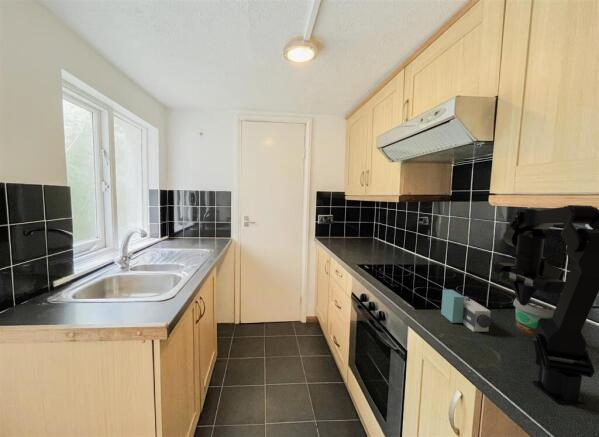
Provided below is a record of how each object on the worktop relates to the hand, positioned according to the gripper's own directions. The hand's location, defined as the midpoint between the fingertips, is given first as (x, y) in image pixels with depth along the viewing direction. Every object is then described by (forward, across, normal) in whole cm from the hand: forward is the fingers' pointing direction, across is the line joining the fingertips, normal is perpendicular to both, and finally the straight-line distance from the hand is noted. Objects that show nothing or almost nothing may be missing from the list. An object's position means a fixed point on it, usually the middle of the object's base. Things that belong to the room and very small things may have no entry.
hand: (523, 305), depth 79 cm
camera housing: (+13, +15, +5) cm, 20 cm away
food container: (+13, +8, -10) cm, 18 cm away
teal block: (+13, +18, +10) cm, 24 cm away
